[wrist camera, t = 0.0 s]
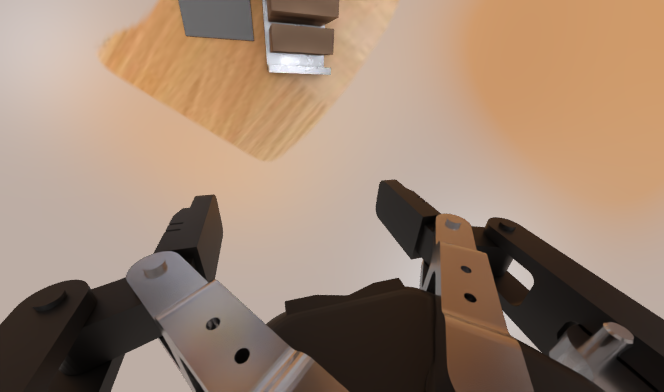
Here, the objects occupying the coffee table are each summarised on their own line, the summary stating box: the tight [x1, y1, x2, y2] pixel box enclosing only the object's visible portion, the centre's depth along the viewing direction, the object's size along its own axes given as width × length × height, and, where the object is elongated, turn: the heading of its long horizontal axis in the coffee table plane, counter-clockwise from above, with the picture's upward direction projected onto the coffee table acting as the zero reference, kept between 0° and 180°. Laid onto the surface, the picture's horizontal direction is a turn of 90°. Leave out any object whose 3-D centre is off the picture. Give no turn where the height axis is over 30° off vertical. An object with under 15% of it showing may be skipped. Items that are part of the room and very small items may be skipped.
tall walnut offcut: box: [267, 0, 339, 27], centre depth 27 cm, size 2×7×8 cm, turn 88°
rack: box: [262, 0, 331, 75], centre depth 28 cm, size 15×8×8 cm, turn 177°
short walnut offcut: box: [269, 23, 334, 56], centre depth 30 cm, size 2×7×6 cm, turn 87°
